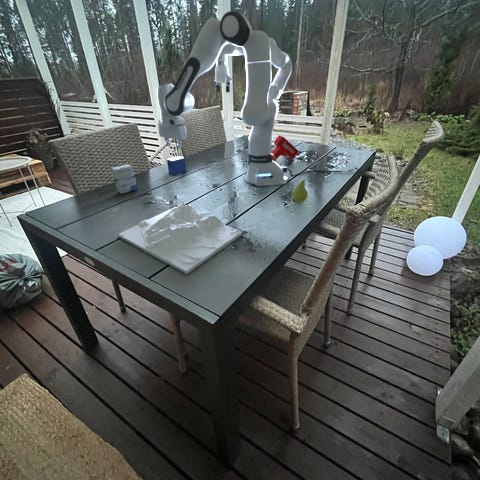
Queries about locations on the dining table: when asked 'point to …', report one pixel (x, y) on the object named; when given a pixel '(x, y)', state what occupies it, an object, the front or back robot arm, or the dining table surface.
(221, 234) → the relief map
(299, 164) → the dining table surface
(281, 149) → the red power drill
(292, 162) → the dining table surface
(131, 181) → the ink box
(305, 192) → the fruit
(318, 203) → the dining table surface
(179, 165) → the block
